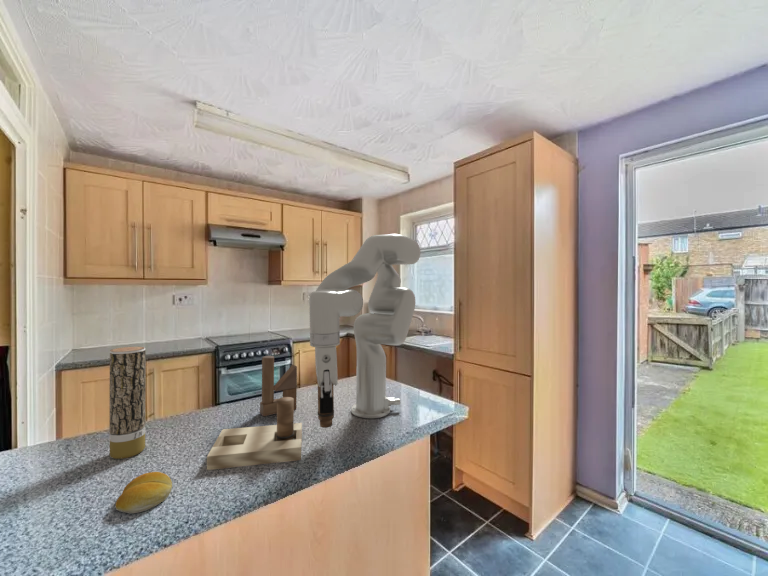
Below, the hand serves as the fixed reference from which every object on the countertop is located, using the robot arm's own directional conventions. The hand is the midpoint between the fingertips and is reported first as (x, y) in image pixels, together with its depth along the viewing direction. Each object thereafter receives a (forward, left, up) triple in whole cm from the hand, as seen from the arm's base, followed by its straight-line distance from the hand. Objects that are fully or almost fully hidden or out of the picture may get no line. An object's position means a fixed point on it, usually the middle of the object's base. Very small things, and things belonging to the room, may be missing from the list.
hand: (325, 408), depth 86 cm
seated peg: (+10, +1, -9) cm, 13 cm away
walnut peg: (0, 0, -4) cm, 4 cm away
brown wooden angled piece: (+14, -24, -9) cm, 29 cm away
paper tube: (+47, -4, -9) cm, 48 cm away
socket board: (+16, +1, -9) cm, 18 cm away
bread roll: (+35, +15, -9) cm, 39 cm away
